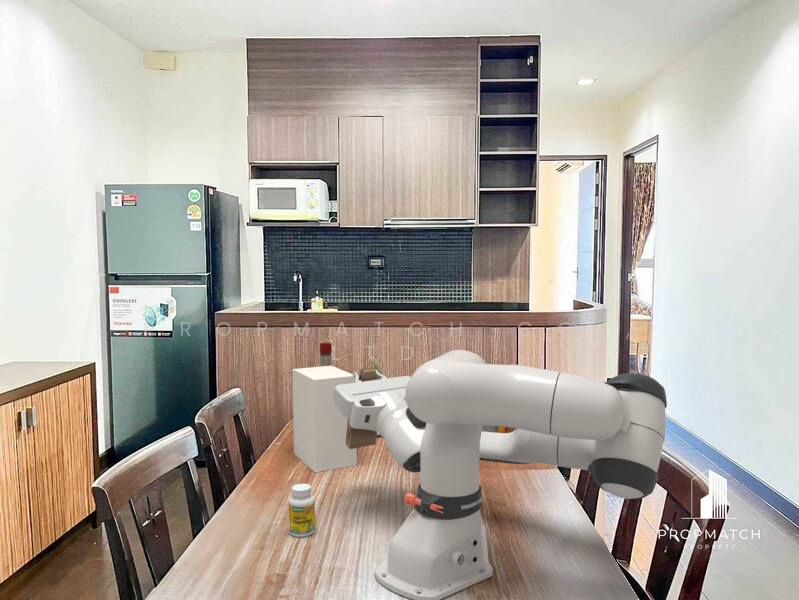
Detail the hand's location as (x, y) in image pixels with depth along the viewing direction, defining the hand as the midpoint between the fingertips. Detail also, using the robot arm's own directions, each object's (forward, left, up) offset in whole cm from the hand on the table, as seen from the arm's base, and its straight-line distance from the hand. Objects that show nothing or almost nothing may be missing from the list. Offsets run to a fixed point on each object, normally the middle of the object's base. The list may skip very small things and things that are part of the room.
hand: (364, 373), depth 143 cm
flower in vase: (+38, +34, -30) cm, 59 cm away
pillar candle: (+43, -5, -30) cm, 53 cm away
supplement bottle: (-23, -5, -30) cm, 38 cm away
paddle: (0, -1, -9) cm, 9 cm away
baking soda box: (+66, +5, -30) cm, 73 cm away
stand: (+10, +27, -30) cm, 41 cm away
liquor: (+26, +43, -30) cm, 59 cm away
